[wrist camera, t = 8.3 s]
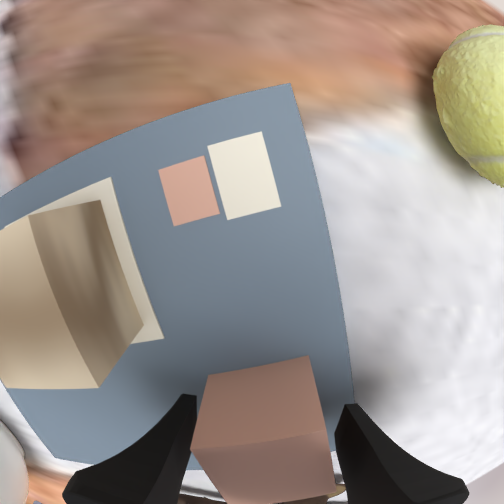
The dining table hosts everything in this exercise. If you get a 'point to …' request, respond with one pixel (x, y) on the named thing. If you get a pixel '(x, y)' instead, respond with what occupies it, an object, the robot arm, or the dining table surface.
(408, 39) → the dining table surface
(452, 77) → the tennis ball
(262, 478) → the terracotta block
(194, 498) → the bear figurine
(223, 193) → the board
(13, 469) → the lidded bowl
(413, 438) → the dining table surface
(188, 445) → the robot arm
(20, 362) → the maple block
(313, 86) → the dining table surface
